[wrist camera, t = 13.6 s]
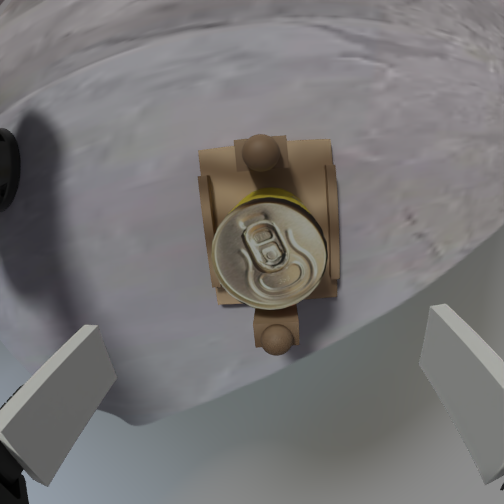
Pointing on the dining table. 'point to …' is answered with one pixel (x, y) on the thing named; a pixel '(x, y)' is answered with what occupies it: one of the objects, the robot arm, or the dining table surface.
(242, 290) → the beverage can
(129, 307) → the dining table surface
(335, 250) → the knobbed wooden cradle
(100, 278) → the dining table surface
